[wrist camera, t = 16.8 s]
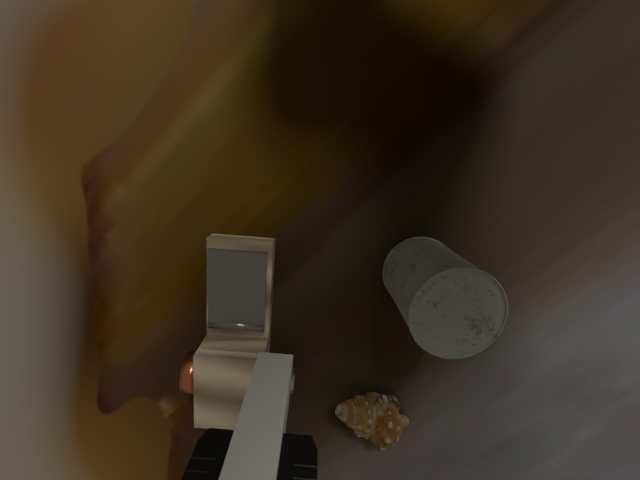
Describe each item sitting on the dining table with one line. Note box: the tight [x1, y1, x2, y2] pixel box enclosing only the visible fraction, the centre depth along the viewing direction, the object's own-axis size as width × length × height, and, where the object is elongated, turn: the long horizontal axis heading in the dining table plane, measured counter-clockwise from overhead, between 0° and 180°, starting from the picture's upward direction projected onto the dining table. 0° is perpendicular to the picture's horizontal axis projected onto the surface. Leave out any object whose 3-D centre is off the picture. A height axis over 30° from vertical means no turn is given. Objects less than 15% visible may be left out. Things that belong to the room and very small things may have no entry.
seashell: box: [335, 391, 409, 450], centre depth 45 cm, size 9×8×10 cm
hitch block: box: [193, 234, 275, 430], centre depth 40 cm, size 23×8×7 cm, turn 175°
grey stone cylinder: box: [382, 237, 509, 359], centre depth 36 cm, size 10×10×12 cm
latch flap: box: [206, 248, 268, 332], centre depth 39 cm, size 11×7×1 cm, turn 175°
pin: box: [179, 351, 296, 395], centre depth 42 cm, size 5×14×5 cm, turn 85°
